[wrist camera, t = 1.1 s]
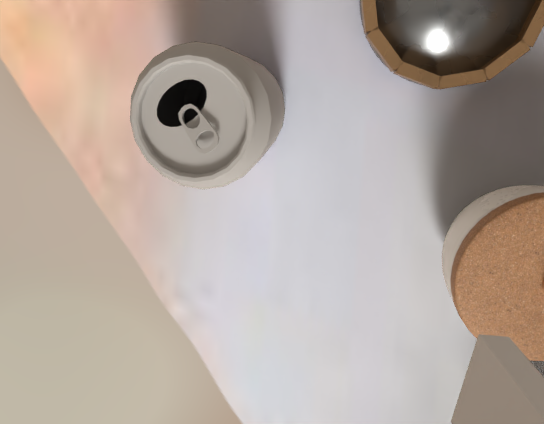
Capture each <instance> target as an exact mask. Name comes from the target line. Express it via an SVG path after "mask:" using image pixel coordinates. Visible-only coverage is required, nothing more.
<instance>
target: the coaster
mask: <svg viewBox="0 0 544 424" xmlns="http://www.w3.org/2000/svg"><path fill="white" fill-rule="evenodd" d="M360 14H361V20H362V25H363V28H364V34H365V35H366V38H367V40H368V42H369V44H370V46H371V48H372V49H373V51H374V52H375V54H376V56H377V57H378V58H379V59H380V60H381V61H382V63H383V64H384V65H385V66H387V67H388V68H389V70H390V71H391V72H392V71H393V72H394V74H396V75H399V76H400V77H402V78H404V79H406V80H408V81H411V82H414V83H417V84H420V85H424V86H427V87H429V88H432V89H444V88H450V87H456V86H462V85H468V84H474V83H480V82H486V80H490V79H492V78H493V77H494V76H496V75H497V74H498V73H500V72H501V71H502V70H504V69H505V68H506V67H508V66H509V65H510V64H512V63H513V62H514V61H516V60H517V59H518V58H520V57H521V56H522V55H524V54H525V53H526V52H528V51H529V50H530V48H529V47H533V45H534V43H535V41H536V39H537V37H538V35H539V34H540V32H541V30H542V28H543V26H544V0H360Z"/></svg>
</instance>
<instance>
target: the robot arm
mask: <svg viewBox="0 0 544 424" xmlns="http://www.w3.org/2000/svg"><path fill="white" fill-rule="evenodd" d="M451 423H452V424H544V377H543V376H542V375H541V373H540V372H539V371H538V370H537V369H536V368H535V367H534V365H533V364H532V363H531V362H530V361H529V360H528V358H527V357H526V356H525V355H524V354H523V353H522V351H521V350H520V349H519V348H518V347H517V346H516V345H515V343H514V342H513V341H512V340H511V339H510V338H509V337H504V336H493V335H481V334H479V335H478V338H477V341H476V344H475V348H474V351H473V354H472V357H471V360H470V363H469V366H468V370H467V373H466V376H465V379H464V382H463V385H462V388H461V392H460V395H459V398H458V401H457V404H456V407H455V410H454V414H453V417H452V420H451Z"/></svg>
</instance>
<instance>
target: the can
mask: <svg viewBox="0 0 544 424" xmlns="http://www.w3.org/2000/svg"><path fill="white" fill-rule="evenodd" d="M284 114H285V105H284V99H283V93H282V91H281V89H280V87H279V85H278V83H277V81H276V79H275V77H274V76H273V75H272V74H271V73H270V72H269V71H268V70H267V69H266V68H265V67H264V66H263V65H261V64H260V63H258V62H256V61H254V60H252V59H250V58H248V57H246V56H243V55H241V54H239V53H236V52H234V51H232V50H229V49H227V48H224V47H222V46H220V45H215V44H209V43H202V42H191V43H185V44H180V45H175V46H172V47H170V48H169V49H167V50H165V51H164V52H162V53H160V54H159V55H157V56H155V57H154V58H153V59H152V60H151V61H150V63H149V64H148V65H147V66H146V67H145V69H144V70H143V71H142V72H141V74H140V75H139V77H138V80H137V82H136V85H135V88H134V90H133V93H132V96H131V111H130V122H131V126H132V130H133V134H134V138H135V141H136V143H137V145H138V147H139V148H140V150H141V152H142V153H143V155H144V157H145V158H146V160H147V161H148V162H149V163H150V164H151V165H152V166H153V167H154V168H155V169H156V170H157V171H158V172H159V173H160V174H161V175H162V176H164V177H166V178H168V179H170V180H172V181H174V182H176V183H178V184H180V185H182V186H186V187H192V188H198V189H210V188H217V187H223V186H226V185H228V184H230V183H232V182H234V181H236V180H238V179H240V178H242V177H244V176H245V175H246V174H247V173H248V172H249V171H250V169H251V168H252V167H253V166H254V165H255V164H256V163H257V162H258V161H259V160H260V159H261V158H262V156H263V155H264V154H265V153H266V152H267V150H268V149H269V148H270V147H271V145H272V144H273V143H274V142H275V141H276V138H277V136H278V134H279V132H280V130H281V128H282V126H283V121H284Z"/></svg>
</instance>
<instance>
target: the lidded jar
mask: <svg viewBox="0 0 544 424" xmlns="http://www.w3.org/2000/svg"><path fill="white" fill-rule="evenodd" d="M442 270H443V275H444V280H445V283H446V286H447V289H448V291H449V294H450V296H451V298H452V300H453V302H454V304H455V307H456V309H457V311H458V314H459V316H460V317H461V319H462V320H463V322H464V324H465V325H466V327H467V328H468V330H469V331H470V332H471V333H472V334H473V335H474V336H475V337H476V338H478V335H479V334H481V335H493V336H504V337H509V338H510V339H511V340H512V341H513V342H514V343H515V345H516V346H517V347H518V348H519V349H520V350H521V351H522V353H523V354H524V355H525V356H526V357H527V358H528V360H533V361H544V186H537V185H519V186H510V187H505V188H501V189H497V190H495V191H492V192H490V193H487V194H485V195H483V196H481V197H480V198H478V199H476V200H474V201H473V202H472V203H470V204H469V205H468V206H467V207H465V208H464V209H463V210H462V211H461V212H460V213H459V215H458V216H457V217H456V218H455V220H454V221H453V223H452V224H451V226H450V228H449V230H448V232H447V234H446V237H445V240H444V244H443V249H442Z"/></svg>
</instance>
